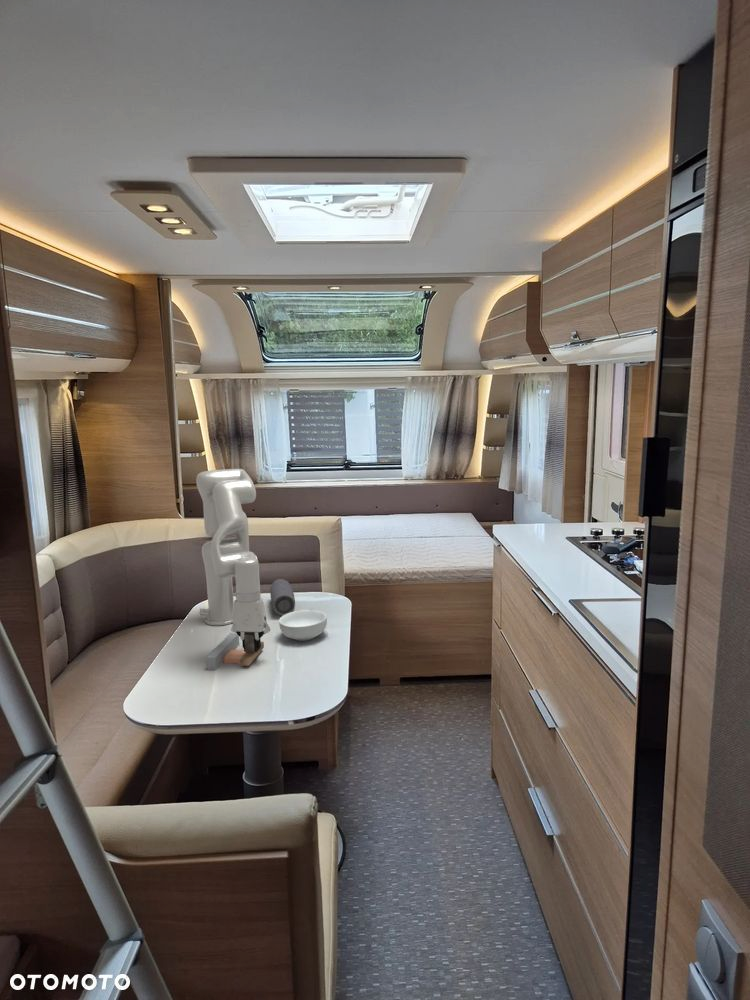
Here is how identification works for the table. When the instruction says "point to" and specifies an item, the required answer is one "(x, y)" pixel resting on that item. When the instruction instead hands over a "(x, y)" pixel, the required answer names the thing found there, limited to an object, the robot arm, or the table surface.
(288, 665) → the table surface
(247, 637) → the scraper
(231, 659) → the tile
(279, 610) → the bluetooth speaker
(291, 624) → the cereal bowl
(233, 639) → the stop rail
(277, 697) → the table surface
